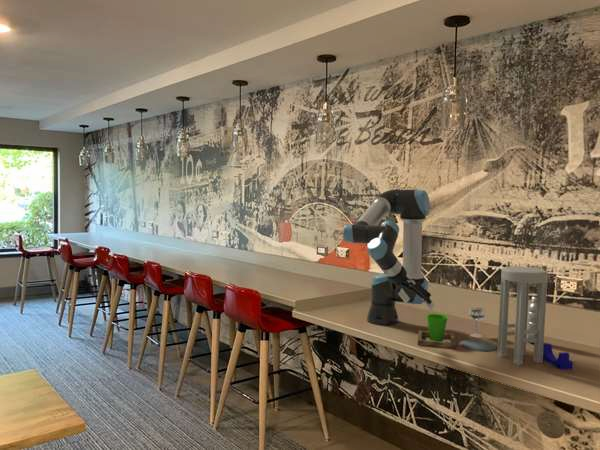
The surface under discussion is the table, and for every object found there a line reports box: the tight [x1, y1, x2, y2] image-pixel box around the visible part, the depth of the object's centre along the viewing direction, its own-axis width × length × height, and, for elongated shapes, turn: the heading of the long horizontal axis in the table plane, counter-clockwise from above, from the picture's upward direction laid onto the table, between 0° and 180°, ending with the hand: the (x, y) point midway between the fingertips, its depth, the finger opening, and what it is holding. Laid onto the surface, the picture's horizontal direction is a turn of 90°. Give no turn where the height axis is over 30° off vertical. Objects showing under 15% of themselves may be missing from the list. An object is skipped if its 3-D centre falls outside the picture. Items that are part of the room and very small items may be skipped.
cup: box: [425, 313, 449, 342], centre depth 208 cm, size 9×9×11 cm
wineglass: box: [468, 306, 486, 338], centre depth 218 cm, size 7×7×12 cm
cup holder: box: [417, 329, 456, 349], centre depth 209 cm, size 15×15×2 cm
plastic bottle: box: [526, 295, 537, 344], centre depth 209 cm, size 6×7×20 cm
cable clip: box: [543, 342, 574, 371], centre depth 184 cm, size 12×4×6 cm, turn 6°
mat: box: [460, 339, 497, 352], centre depth 204 cm, size 14×14×1 cm
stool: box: [496, 265, 549, 366], centre depth 188 cm, size 16×16×35 cm
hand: (419, 304), depth 201 cm, fingers open, 13 cm apart
